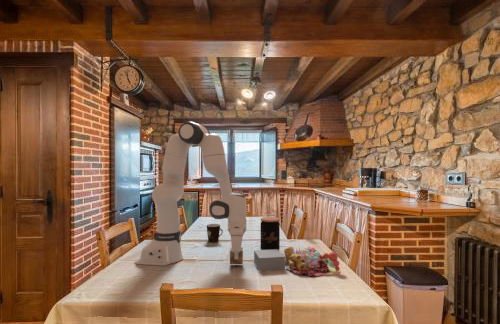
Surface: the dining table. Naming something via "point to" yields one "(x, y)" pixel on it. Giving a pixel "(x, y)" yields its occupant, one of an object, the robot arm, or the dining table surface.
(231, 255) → the walnut block
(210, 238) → the coffee mug
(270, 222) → the coffee jar
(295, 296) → the dining table surface
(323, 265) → the candy landscape model
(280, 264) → the grey box
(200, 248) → the dining table surface
